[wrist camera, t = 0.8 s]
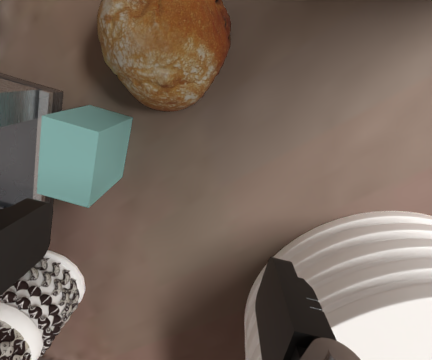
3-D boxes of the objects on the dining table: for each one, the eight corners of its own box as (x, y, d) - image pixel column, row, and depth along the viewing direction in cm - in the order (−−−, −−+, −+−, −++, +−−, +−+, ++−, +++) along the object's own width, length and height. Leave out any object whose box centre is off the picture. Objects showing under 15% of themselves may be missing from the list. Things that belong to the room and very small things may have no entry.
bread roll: (117, 31, 28) (52, 54, 22) (174, -80, 21) (101, -89, 15) (193, 108, 30) (151, 148, 24) (267, 29, 23) (234, 59, 17)
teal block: (90, 105, 27) (41, 115, 20) (132, 117, 27) (98, 132, 20) (82, 165, 29) (36, 193, 22) (122, 177, 29) (88, 207, 22)
